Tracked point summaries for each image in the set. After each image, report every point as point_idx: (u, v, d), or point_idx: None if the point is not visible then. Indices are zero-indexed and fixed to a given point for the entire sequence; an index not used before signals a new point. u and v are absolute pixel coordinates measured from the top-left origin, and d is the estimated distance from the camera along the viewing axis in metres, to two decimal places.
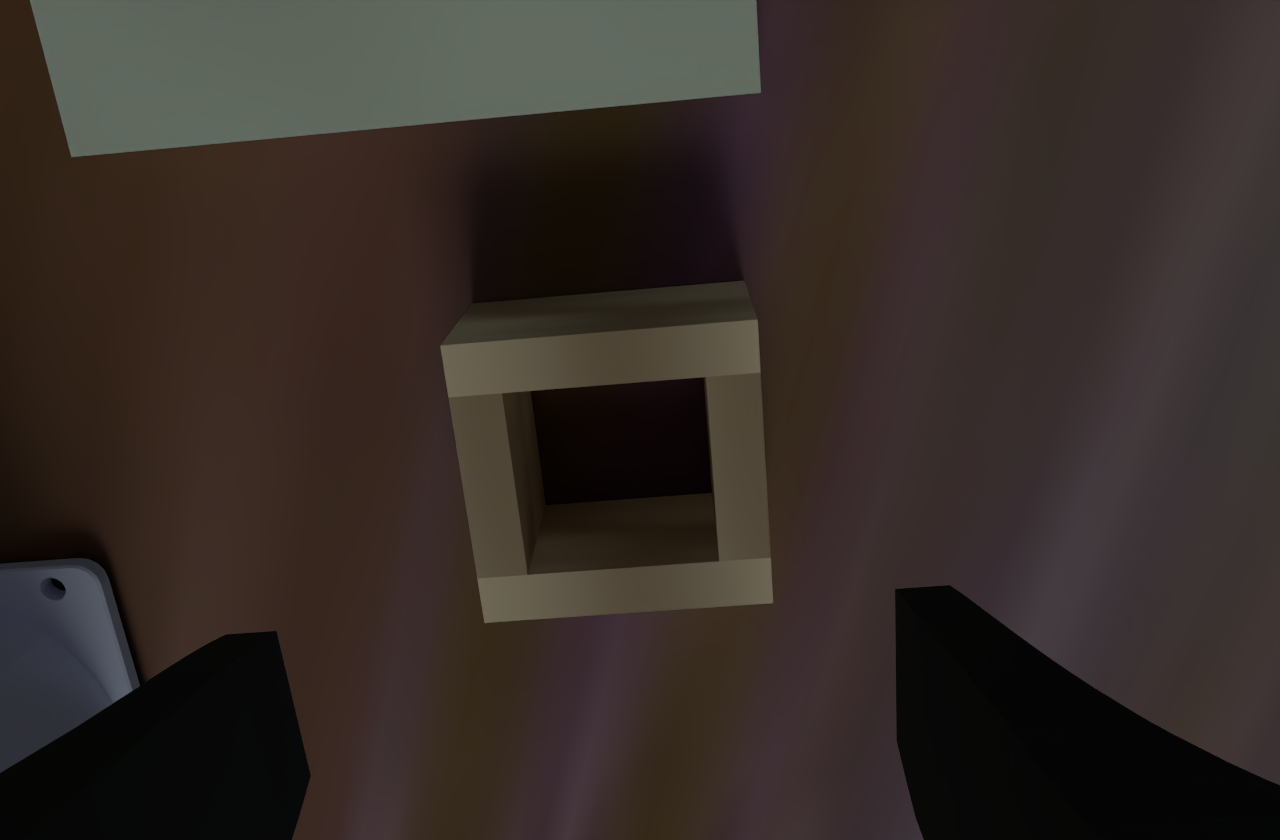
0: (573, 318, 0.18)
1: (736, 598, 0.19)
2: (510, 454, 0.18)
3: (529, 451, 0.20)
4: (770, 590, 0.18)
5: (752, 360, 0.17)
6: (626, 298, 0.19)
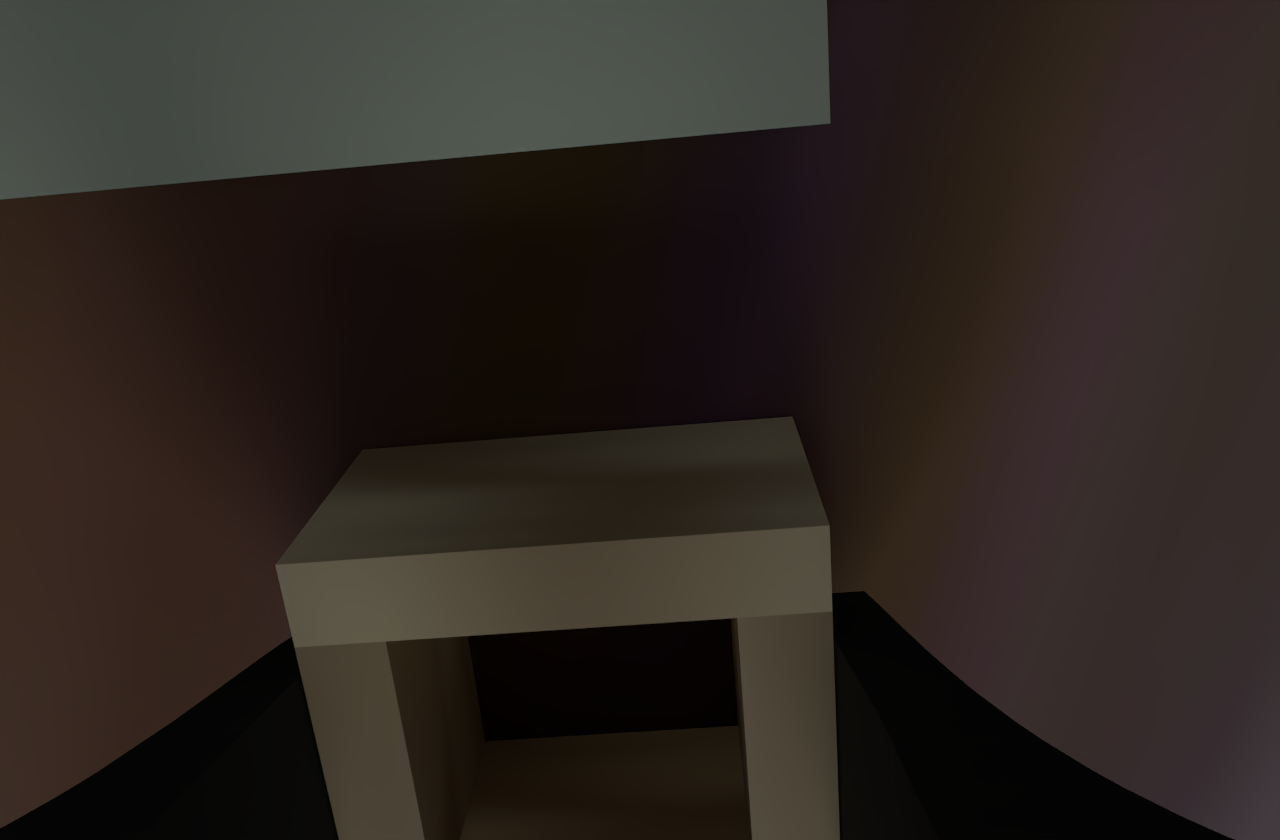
0: (513, 500, 0.11)
1: None
2: (404, 737, 0.10)
3: (452, 685, 0.13)
4: None
5: (818, 591, 0.10)
6: (604, 451, 0.12)
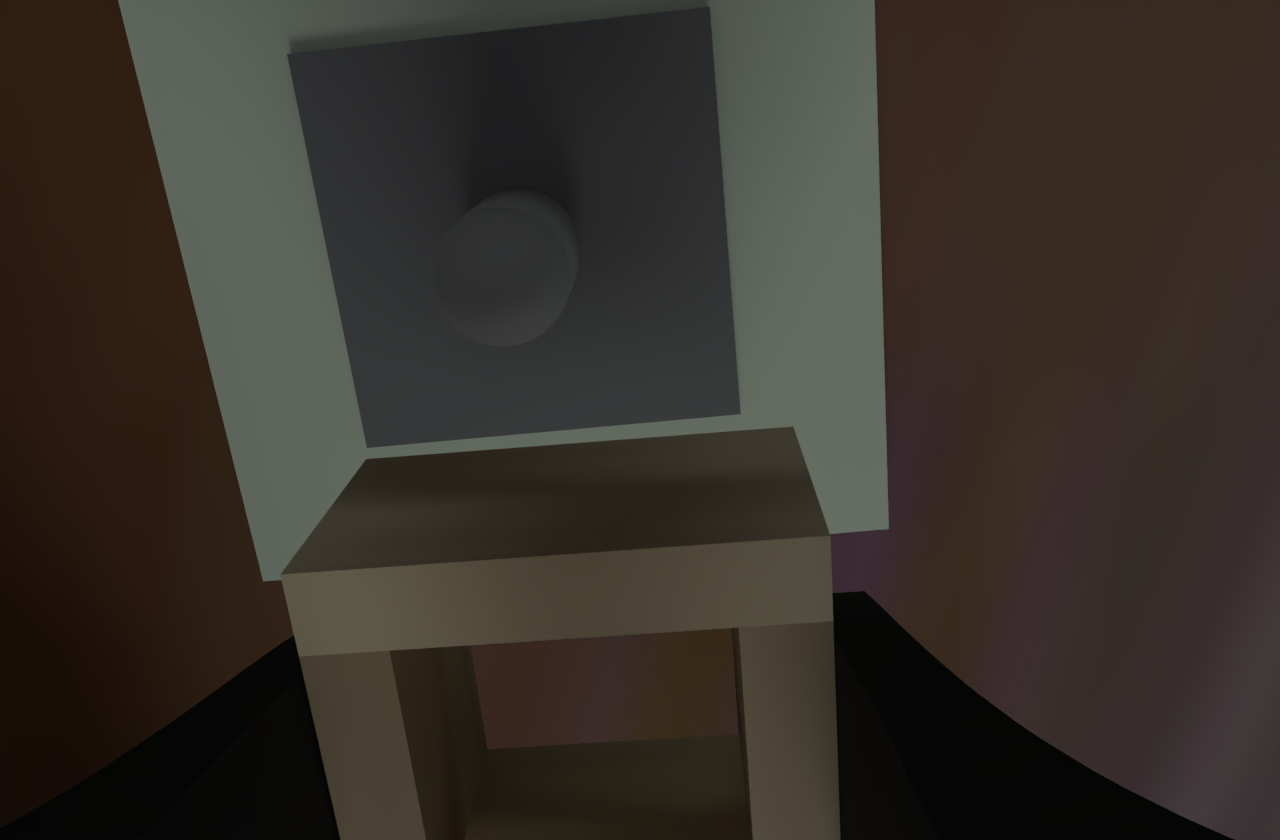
0: (516, 510, 0.11)
1: None
2: (407, 745, 0.11)
3: (454, 693, 0.13)
4: None
5: (819, 601, 0.10)
6: (606, 461, 0.12)
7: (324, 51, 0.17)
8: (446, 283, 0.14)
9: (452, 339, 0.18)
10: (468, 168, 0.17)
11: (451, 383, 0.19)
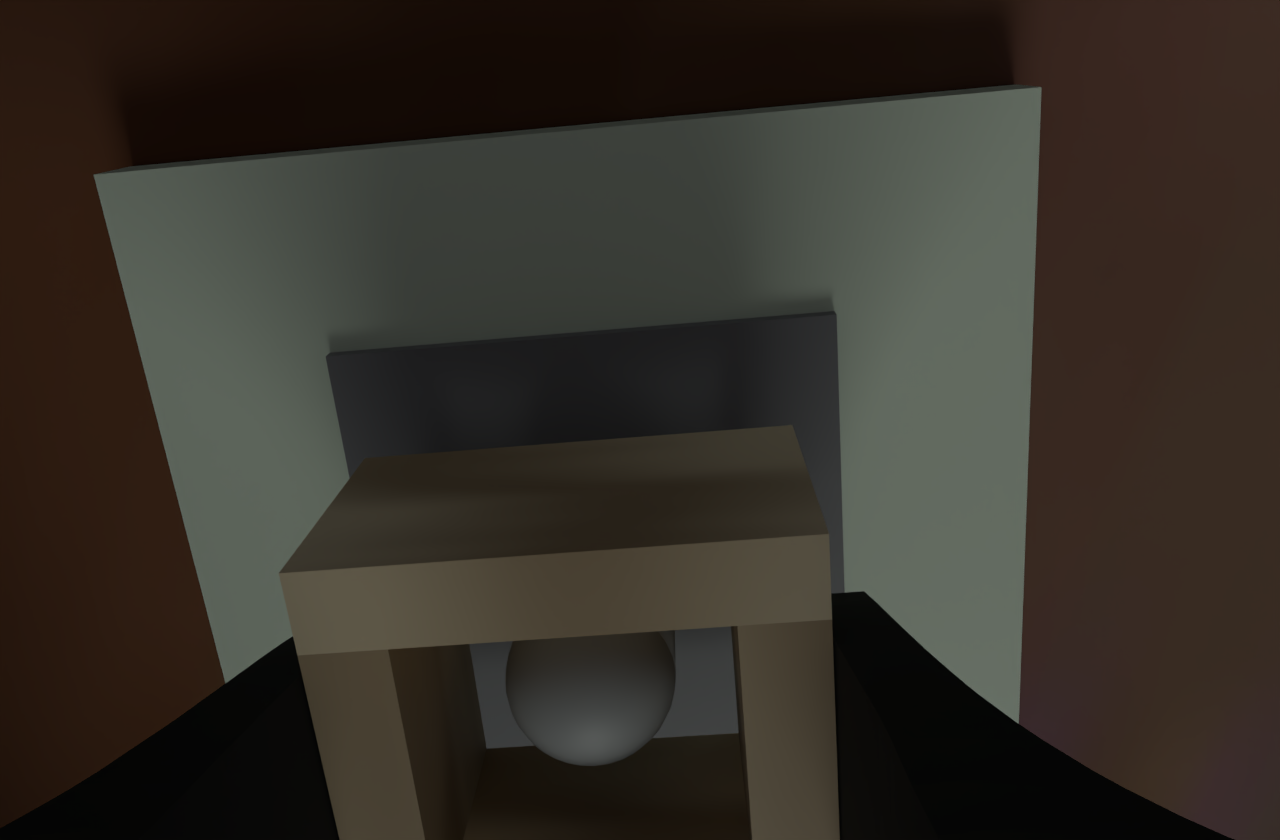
0: (514, 508, 0.11)
1: None
2: (406, 744, 0.11)
3: (453, 693, 0.13)
4: None
5: (818, 599, 0.10)
6: (605, 460, 0.12)
7: (370, 355, 0.14)
8: (527, 707, 0.12)
9: None
10: None
11: (510, 711, 0.16)
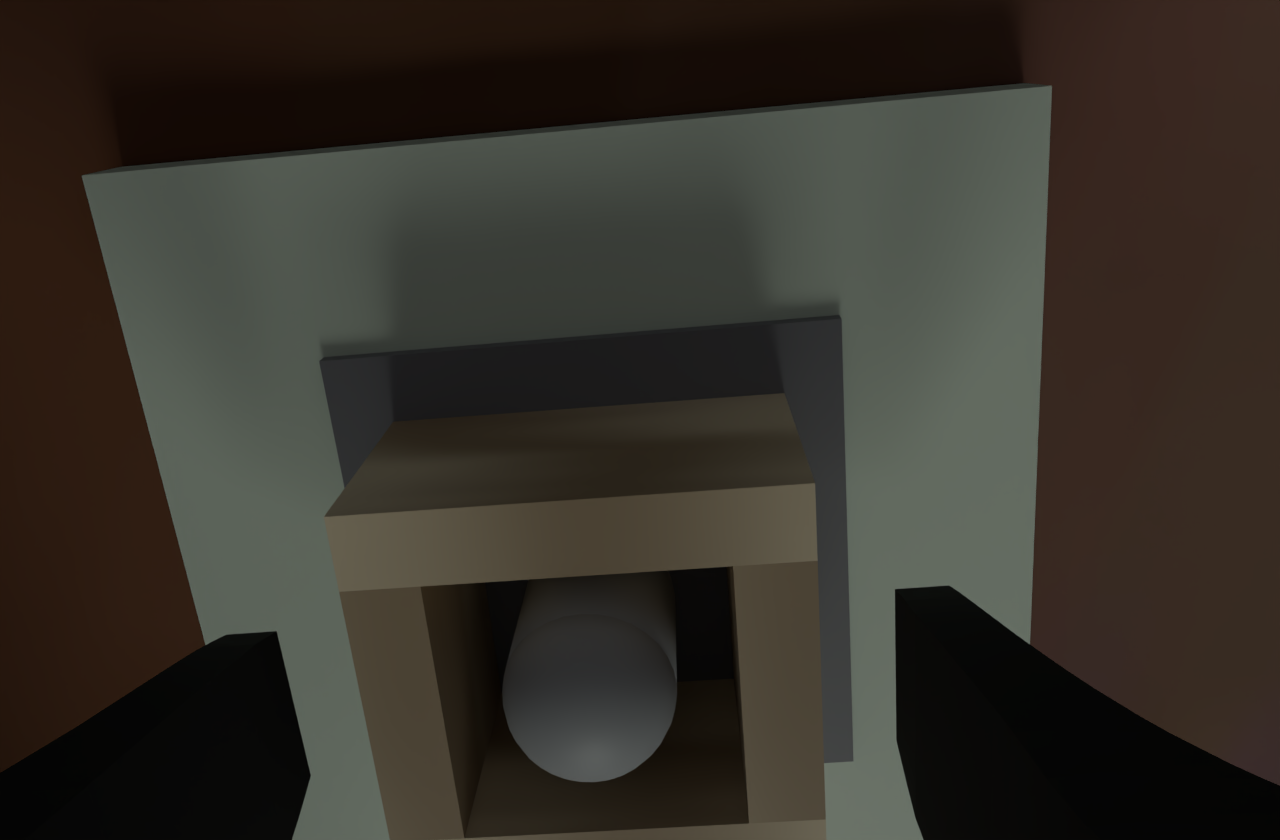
0: (533, 463, 0.12)
1: None
2: (435, 673, 0.12)
3: (473, 636, 0.14)
4: None
5: (805, 542, 0.11)
6: (613, 422, 0.13)
7: (365, 360, 0.14)
8: (525, 722, 0.11)
9: None
10: None
11: None
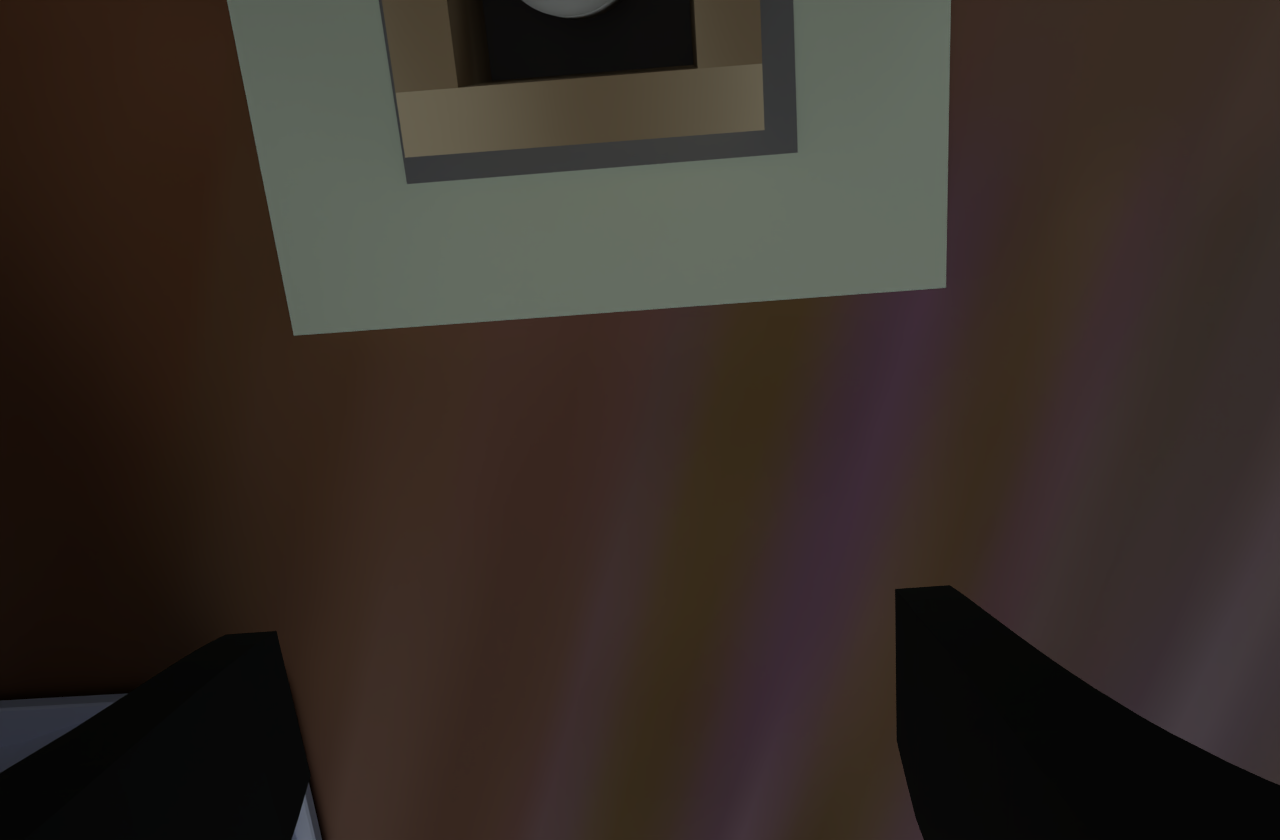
0: None
1: (719, 123, 0.15)
2: None
3: None
4: (761, 111, 0.15)
5: None
6: None
7: None
8: None
9: (500, 62, 0.18)
10: None
11: None
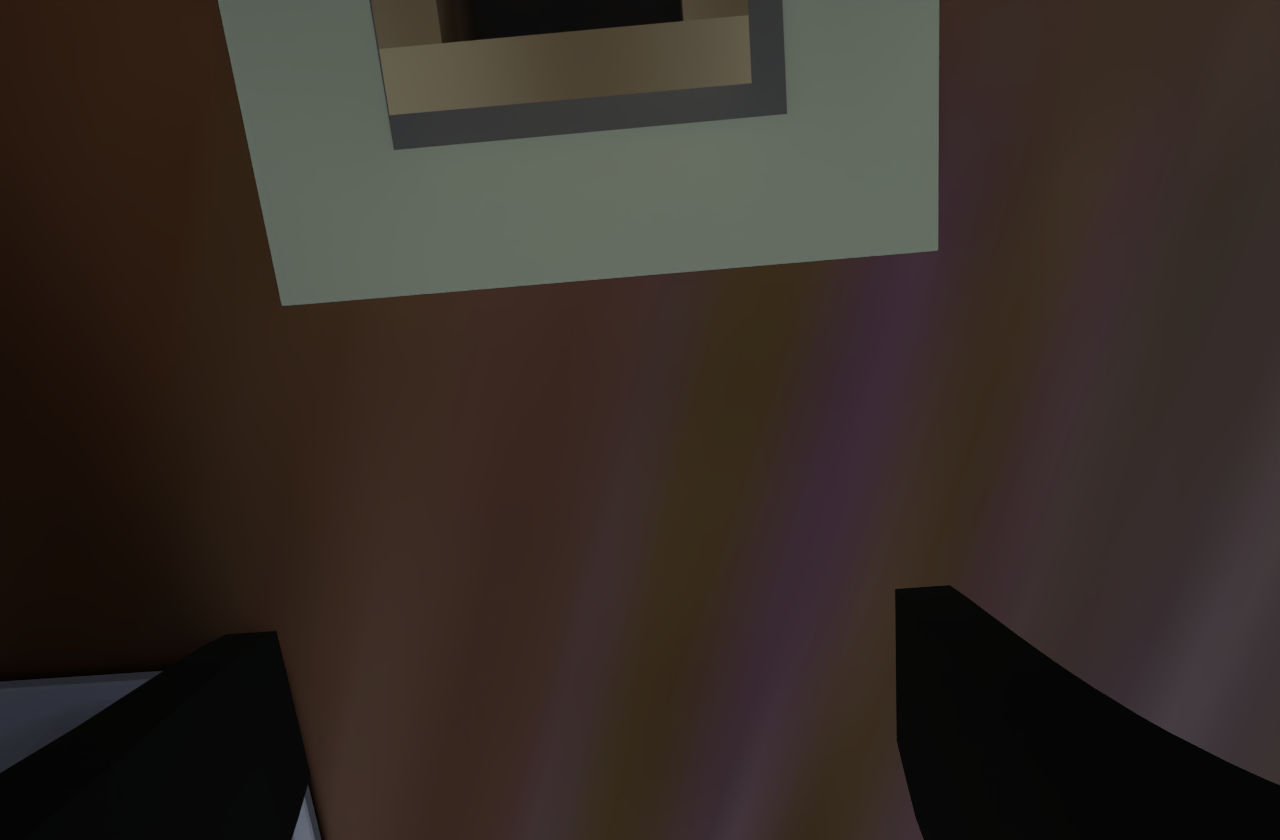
0: None
1: (705, 77, 0.15)
2: None
3: None
4: (748, 64, 0.15)
5: None
6: None
7: None
8: None
9: (486, 25, 0.17)
10: None
11: None
